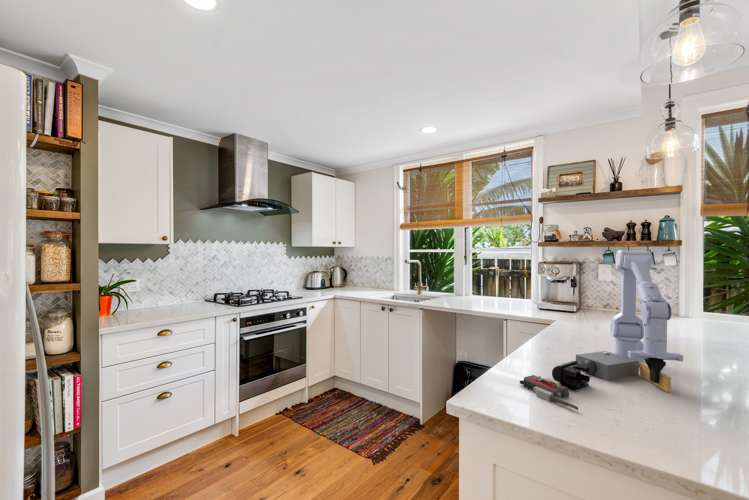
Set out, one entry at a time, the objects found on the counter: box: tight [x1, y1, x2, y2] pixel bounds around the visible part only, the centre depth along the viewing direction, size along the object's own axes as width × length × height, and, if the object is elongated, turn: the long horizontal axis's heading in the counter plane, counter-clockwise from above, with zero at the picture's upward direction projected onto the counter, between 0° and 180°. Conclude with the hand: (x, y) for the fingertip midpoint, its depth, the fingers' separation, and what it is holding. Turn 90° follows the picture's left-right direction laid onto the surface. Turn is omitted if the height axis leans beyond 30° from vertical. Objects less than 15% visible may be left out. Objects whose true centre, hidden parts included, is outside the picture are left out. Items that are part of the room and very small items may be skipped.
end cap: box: [551, 360, 591, 392], centre depth 111 cm, size 10×7×7 cm
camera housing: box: [575, 350, 640, 381], centre depth 123 cm, size 17×12×6 cm
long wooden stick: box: [639, 362, 672, 393], centre depth 112 cm, size 14×1×4 cm, turn 170°
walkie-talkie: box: [519, 374, 579, 411], centre depth 102 cm, size 9×4×20 cm
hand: (654, 381), depth 110 cm, fingers closed
